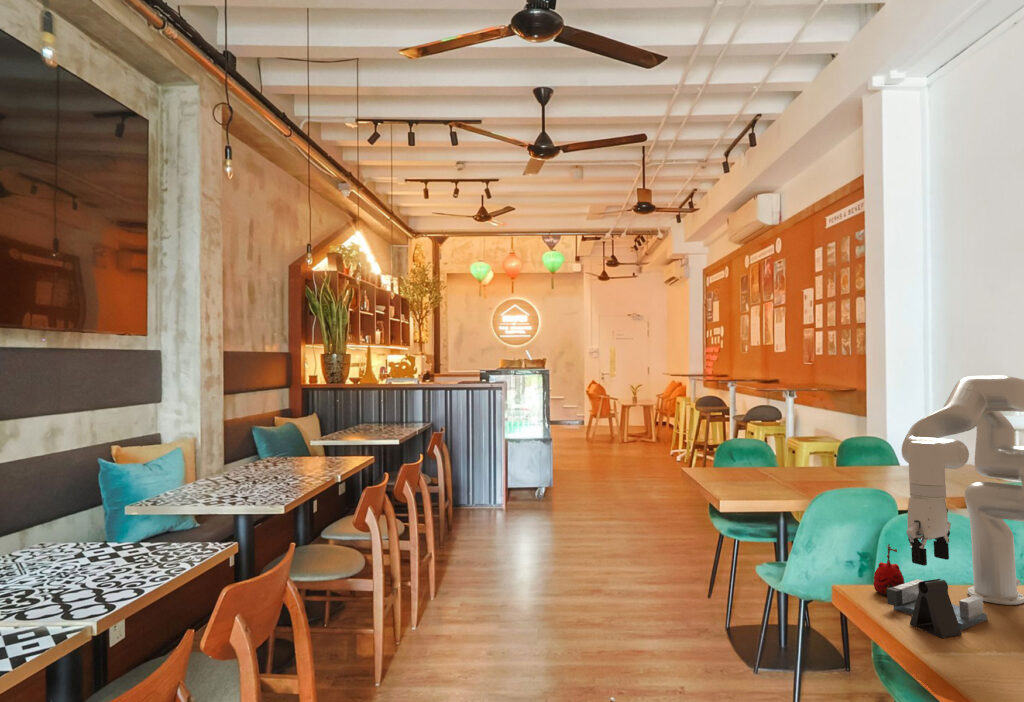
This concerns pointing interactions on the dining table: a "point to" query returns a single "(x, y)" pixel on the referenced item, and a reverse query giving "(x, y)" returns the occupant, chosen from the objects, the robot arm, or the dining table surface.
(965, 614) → the dark grey base plate
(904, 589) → the block
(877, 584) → the red clay folk toy
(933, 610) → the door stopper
